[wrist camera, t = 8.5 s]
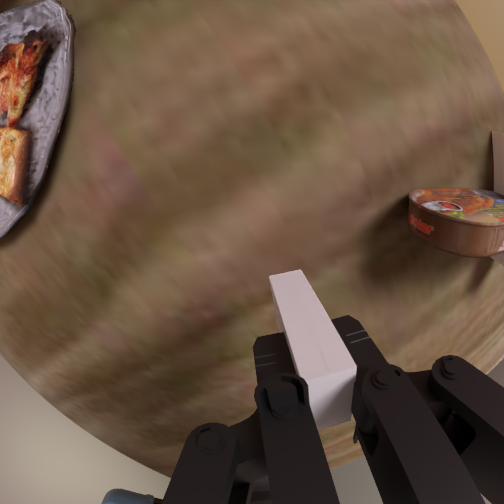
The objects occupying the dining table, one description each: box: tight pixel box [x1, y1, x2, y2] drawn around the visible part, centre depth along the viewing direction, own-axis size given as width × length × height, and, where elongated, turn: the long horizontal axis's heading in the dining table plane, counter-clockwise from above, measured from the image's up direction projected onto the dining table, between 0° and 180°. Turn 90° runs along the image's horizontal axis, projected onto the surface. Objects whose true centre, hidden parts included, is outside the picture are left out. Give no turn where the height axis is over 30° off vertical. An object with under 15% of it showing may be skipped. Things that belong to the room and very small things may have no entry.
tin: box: [408, 188, 504, 258], centre depth 16 cm, size 15×3×8 cm, turn 96°
